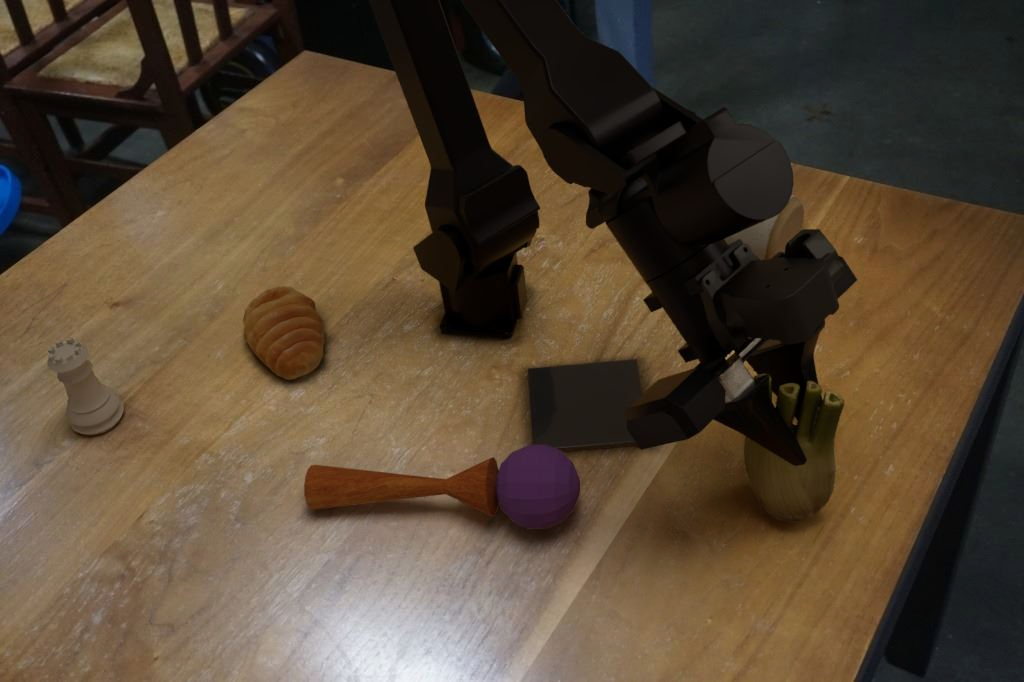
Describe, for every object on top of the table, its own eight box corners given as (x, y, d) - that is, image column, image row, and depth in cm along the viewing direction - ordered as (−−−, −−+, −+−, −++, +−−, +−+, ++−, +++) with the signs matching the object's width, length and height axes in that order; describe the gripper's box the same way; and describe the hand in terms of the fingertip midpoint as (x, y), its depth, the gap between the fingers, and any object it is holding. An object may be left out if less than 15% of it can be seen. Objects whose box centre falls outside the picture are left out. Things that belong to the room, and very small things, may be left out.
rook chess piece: (77, 446, 89) (39, 376, 84) (67, 412, 92) (30, 343, 87) (131, 424, 91) (97, 354, 85) (119, 391, 94) (86, 322, 88)
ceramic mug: (769, 292, 95) (776, 220, 90) (685, 264, 99) (687, 193, 94) (819, 228, 101) (828, 157, 96) (737, 203, 105) (742, 134, 100)
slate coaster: (533, 454, 84) (532, 450, 84) (528, 372, 91) (527, 368, 91) (650, 444, 84) (650, 440, 84) (636, 362, 91) (636, 358, 90)
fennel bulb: (731, 493, 79) (742, 378, 71) (779, 458, 81) (795, 342, 73) (793, 544, 75) (811, 429, 67) (841, 506, 77) (865, 390, 69)
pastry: (345, 366, 93) (335, 333, 91) (269, 396, 92) (257, 363, 89) (311, 304, 100) (302, 272, 97) (240, 331, 98) (228, 298, 96)
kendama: (316, 430, 83) (579, 426, 78) (333, 492, 86) (588, 491, 81) (289, 481, 78) (569, 480, 73) (309, 544, 81) (578, 547, 77)
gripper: (664, 303, 59) (820, 533, 61) (848, 146, 69) (980, 349, 70) (562, 345, 69) (700, 542, 71) (736, 203, 78) (854, 380, 80)
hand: (813, 451), depth 73 cm, fingers closed on fennel bulb, 2 cm apart
